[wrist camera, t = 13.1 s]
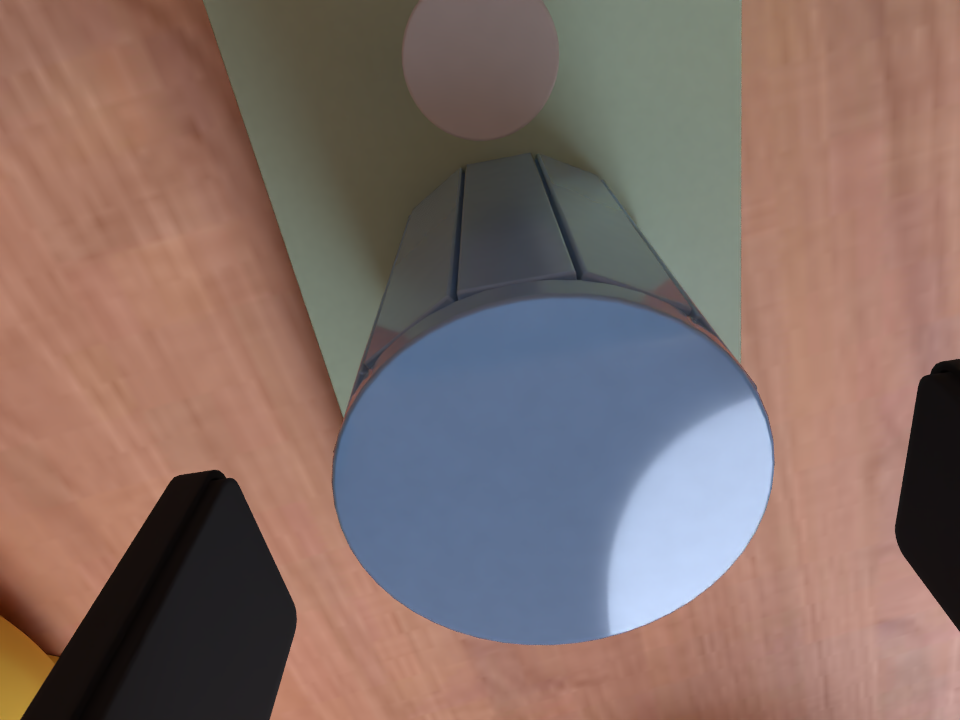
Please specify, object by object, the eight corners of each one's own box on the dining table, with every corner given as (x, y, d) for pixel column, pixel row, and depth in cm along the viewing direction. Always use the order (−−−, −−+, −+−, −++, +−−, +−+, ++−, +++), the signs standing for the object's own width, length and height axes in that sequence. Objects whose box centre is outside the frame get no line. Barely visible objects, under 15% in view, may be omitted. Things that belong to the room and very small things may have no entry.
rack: (191, -99, 15) (-27, -179, 9) (718, -221, 14) (925, -414, 8) (398, 541, 25) (370, 738, 18) (726, 494, 24) (823, 684, 17)
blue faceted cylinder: (366, 182, 17) (269, 340, 9) (634, 132, 16) (784, 252, 8) (425, 405, 20) (391, 668, 12) (651, 369, 19) (771, 620, 12)
